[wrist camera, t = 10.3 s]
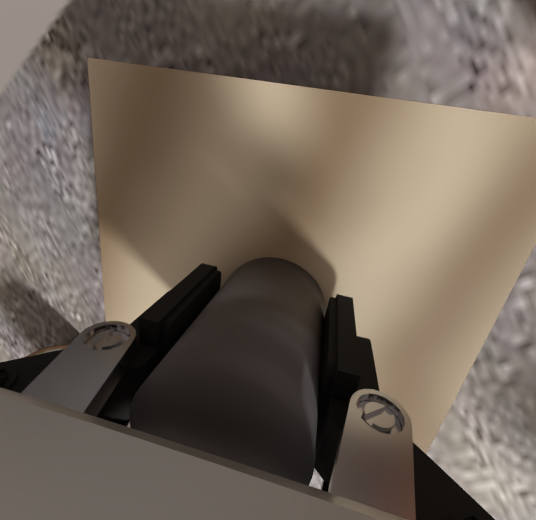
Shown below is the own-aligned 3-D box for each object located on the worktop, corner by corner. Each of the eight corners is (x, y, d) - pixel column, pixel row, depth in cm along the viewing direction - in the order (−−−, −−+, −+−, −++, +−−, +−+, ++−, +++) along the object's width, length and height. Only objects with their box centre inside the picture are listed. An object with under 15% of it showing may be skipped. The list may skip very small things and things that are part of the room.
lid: (569, 128, 9) (1221, 76, 2) (404, 465, 14) (458, 721, 8) (108, 65, 11) (-225, -54, 4) (123, 381, 16) (-12, 530, 10)
